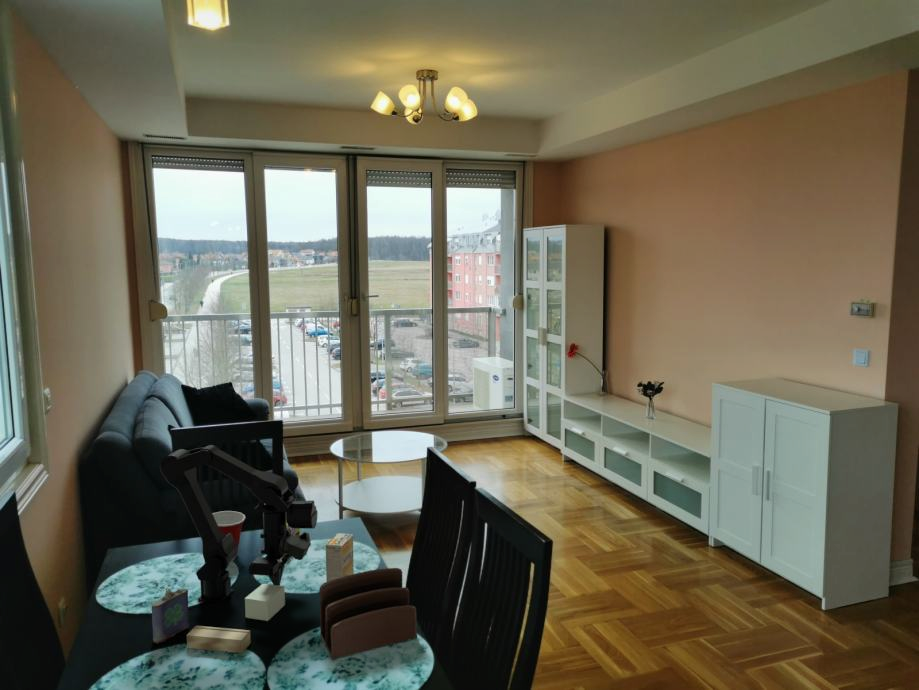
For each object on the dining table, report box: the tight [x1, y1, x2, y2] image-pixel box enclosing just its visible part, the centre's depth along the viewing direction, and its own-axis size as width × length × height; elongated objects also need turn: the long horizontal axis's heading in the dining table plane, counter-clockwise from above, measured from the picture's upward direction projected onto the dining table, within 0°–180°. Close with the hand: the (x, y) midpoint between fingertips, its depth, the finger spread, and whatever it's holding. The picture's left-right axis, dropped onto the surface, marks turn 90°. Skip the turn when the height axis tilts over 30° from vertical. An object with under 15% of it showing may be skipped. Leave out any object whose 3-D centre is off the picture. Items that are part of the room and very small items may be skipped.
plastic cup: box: [212, 510, 246, 557], centre depth 197 cm, size 11×11×12 cm
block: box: [244, 583, 286, 622], centre depth 166 cm, size 6×8×5 cm
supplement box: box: [325, 532, 355, 582], centre depth 178 cm, size 8×5×13 cm, turn 168°
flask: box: [150, 587, 190, 644], centre depth 155 cm, size 9×3×11 cm, turn 151°
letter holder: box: [319, 567, 418, 660], centre depth 153 cm, size 10×20×14 cm, turn 115°
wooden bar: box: [186, 625, 252, 654], centre depth 151 cm, size 13×4×3 cm, turn 81°
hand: (277, 586), depth 172 cm, fingers closed
